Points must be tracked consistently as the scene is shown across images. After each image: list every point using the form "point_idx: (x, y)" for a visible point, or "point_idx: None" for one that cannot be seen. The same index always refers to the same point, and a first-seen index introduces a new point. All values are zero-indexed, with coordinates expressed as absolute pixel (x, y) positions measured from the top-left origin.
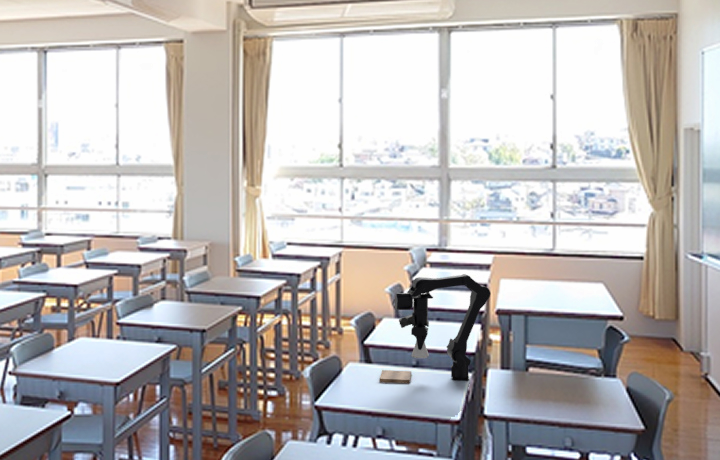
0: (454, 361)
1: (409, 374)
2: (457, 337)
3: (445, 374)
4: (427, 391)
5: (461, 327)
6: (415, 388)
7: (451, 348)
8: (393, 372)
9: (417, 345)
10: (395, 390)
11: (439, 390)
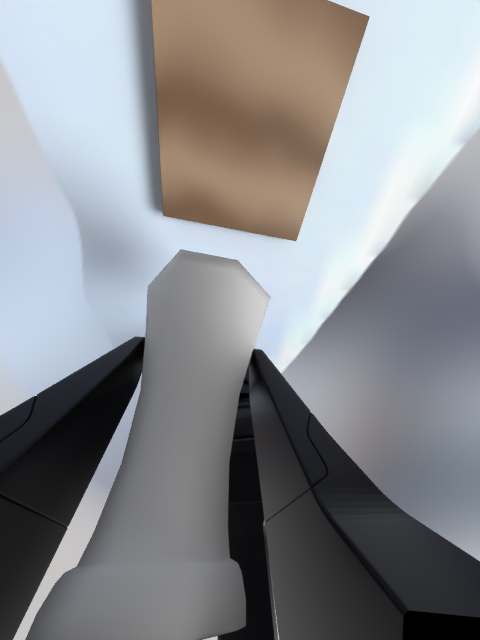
0: (245, 399)
1: (248, 225)
2: (242, 527)
3: (274, 344)
4: (85, 274)
5: (254, 623)
6: (105, 232)
7: None
8: (295, 124)
9: (151, 352)
10: (25, 107)
11: (112, 312)
